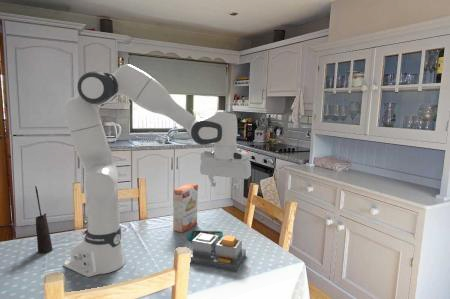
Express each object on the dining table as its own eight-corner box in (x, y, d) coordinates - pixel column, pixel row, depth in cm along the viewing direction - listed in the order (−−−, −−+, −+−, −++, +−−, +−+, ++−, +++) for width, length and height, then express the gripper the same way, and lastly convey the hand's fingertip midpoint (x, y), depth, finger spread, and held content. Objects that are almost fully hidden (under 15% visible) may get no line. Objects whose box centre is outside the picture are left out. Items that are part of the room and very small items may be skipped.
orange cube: (221, 249, 121) (221, 239, 120) (225, 244, 125) (225, 234, 125) (232, 251, 120) (232, 241, 119) (236, 246, 124) (236, 236, 123)
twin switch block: (186, 262, 122) (186, 243, 121) (201, 246, 135) (201, 229, 134) (235, 272, 115) (236, 252, 114) (245, 255, 128) (246, 237, 127)
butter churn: (48, 242, 136) (43, 180, 132) (64, 246, 132) (60, 182, 128) (28, 252, 127) (22, 185, 123) (45, 256, 124) (40, 188, 120)
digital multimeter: (190, 235, 147) (190, 229, 147) (223, 236, 147) (223, 230, 146) (188, 242, 140) (188, 236, 139) (222, 243, 139) (222, 237, 139)
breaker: (197, 245, 124) (197, 238, 124) (202, 240, 129) (202, 233, 129) (209, 247, 123) (209, 240, 122) (213, 242, 127) (213, 235, 127)
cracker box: (183, 233, 148) (183, 190, 145) (172, 231, 151) (172, 189, 148) (198, 223, 161) (198, 184, 158) (188, 221, 163) (188, 182, 160)
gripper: (197, 152, 120) (197, 186, 122) (248, 155, 114) (247, 192, 116) (203, 149, 126) (203, 182, 128) (252, 153, 119) (251, 188, 122)
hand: (224, 187), depth 122 cm, fingers open, 8 cm apart
